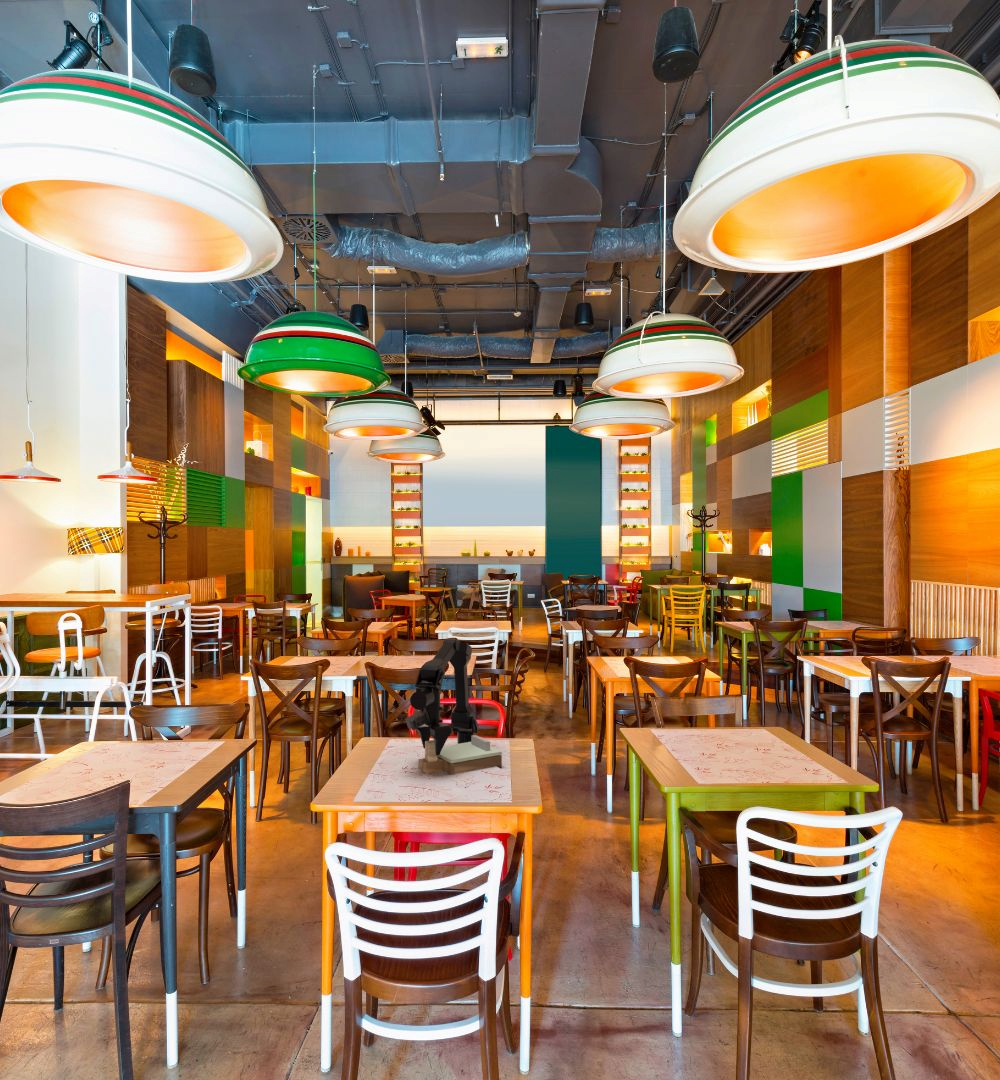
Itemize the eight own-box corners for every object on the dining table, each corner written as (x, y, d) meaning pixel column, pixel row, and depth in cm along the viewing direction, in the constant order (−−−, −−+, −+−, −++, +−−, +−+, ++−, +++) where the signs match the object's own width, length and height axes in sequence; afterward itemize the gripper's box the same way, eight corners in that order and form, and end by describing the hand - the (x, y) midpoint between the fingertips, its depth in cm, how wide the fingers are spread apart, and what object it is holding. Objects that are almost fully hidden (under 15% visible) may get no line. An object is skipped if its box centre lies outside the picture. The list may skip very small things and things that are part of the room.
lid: (429, 751, 223) (429, 739, 223) (477, 743, 233) (477, 732, 233) (450, 763, 209) (451, 750, 210) (501, 754, 219) (501, 742, 220)
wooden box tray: (412, 767, 220) (412, 755, 220) (477, 756, 233) (477, 744, 233) (433, 781, 206) (433, 767, 206) (501, 768, 219) (501, 755, 219)
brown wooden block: (424, 769, 215) (425, 741, 215) (433, 767, 217) (433, 739, 217) (428, 771, 212) (429, 743, 213) (437, 769, 214) (437, 741, 214)
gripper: (397, 701, 219) (397, 748, 219) (421, 711, 203) (420, 763, 203) (427, 697, 225) (427, 743, 224) (453, 707, 209) (453, 757, 209)
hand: (431, 751), depth 215 cm, fingers open, 9 cm apart
